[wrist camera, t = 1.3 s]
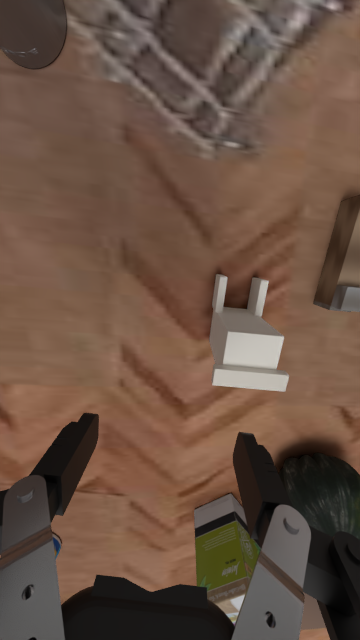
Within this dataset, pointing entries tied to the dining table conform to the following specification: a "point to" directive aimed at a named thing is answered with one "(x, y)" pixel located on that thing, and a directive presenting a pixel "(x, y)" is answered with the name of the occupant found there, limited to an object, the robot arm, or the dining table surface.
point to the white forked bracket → (245, 342)
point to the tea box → (224, 553)
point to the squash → (324, 492)
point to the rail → (342, 262)
